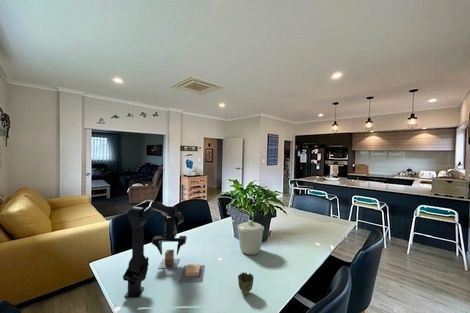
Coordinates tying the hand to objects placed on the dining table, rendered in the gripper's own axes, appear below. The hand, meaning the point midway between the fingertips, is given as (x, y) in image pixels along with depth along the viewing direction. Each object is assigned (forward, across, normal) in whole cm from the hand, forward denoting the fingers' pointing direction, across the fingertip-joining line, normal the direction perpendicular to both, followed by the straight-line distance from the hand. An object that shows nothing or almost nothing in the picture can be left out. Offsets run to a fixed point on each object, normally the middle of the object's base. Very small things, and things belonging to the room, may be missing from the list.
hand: (169, 254), depth 122 cm
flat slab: (+4, -15, +13) cm, 20 cm away
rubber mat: (+6, -15, +10) cm, 19 cm away
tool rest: (+6, 0, 0) cm, 6 cm away
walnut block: (+5, 0, 0) cm, 5 cm away
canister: (+6, -50, -16) cm, 53 cm away
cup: (+6, -42, +26) cm, 50 cm away
